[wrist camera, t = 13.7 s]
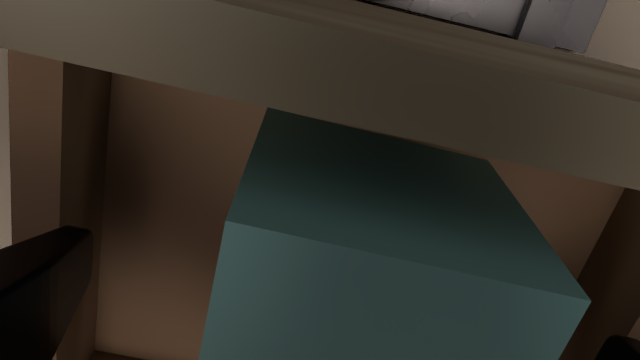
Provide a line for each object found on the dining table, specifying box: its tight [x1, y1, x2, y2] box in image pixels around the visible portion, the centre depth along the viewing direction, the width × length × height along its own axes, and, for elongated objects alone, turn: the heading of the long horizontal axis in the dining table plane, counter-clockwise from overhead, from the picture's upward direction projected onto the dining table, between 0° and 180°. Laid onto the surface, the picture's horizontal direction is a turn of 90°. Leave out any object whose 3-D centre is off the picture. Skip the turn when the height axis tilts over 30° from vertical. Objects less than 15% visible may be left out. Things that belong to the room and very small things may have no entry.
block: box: [198, 107, 591, 360], centre depth 9 cm, size 4×4×4 cm
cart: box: [0, 0, 640, 360], centre depth 11 cm, size 10×12×8 cm
